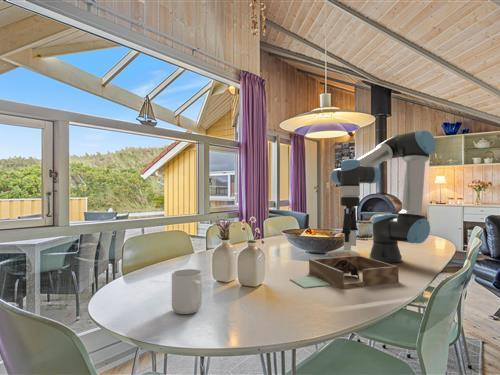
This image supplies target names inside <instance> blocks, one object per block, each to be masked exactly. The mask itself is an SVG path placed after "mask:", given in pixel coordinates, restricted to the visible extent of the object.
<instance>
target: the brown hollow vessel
mask: <svg viewBox="0 0 500 375" xmlns="http://www.w3.org/2000/svg"><path fill="white" fill-rule="evenodd" d="M339 265H341V268H337V267H338V266H339ZM334 268H335V269H337V270H340V271H343V272H344V274H349V273H350V275H351V276H355V277H356V276H357V279H360V274H359V269H357V268H356V266H355V265H354V264H353V263H352V262H350V261H349V260H348V259H343V260H340V261H338V262H337V263H335V265H334Z"/></svg>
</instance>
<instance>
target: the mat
mask: <svg viewBox="0 0 500 375" xmlns="http://www.w3.org/2000/svg"><path fill="white" fill-rule="evenodd" d="M289 280H290V281H291V282H293V283H295V284H297V285H298V286H300V287H302V288H303V289H309V288H317V287H326V286H327V287H329V286H331V283H329V282H327V281H325V280H323V279H320V278H318V277H316V276H314V275H312V276H306V277H295V278H294V277H293V278H290V279H289Z"/></svg>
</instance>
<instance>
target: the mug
mask: <svg viewBox="0 0 500 375" xmlns="http://www.w3.org/2000/svg"><path fill="white" fill-rule="evenodd" d="M202 279H203V278H202V271H201V270H199V269H195V268H194V269H193V268H185V269H177V270H175V271H173V272H171V309H172V310H173V312H175V313H177V314H180V315H188V314H193V313H195V312H198V311H199V309H200V308H202V304H203V302H202V301H203V300H202V299H203V298H202V297H203V296H202V294H203V282H202Z"/></svg>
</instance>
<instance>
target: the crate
mask: <svg viewBox="0 0 500 375" xmlns="http://www.w3.org/2000/svg"><path fill="white" fill-rule="evenodd" d="M343 259H348V260H349V261H350V262H352V263H353V264H354V265H355V266H356V268H357V270H361V271H362V280H361V281H353V282H345V278H344V276H345V273H344V272H343V271H340V270H337V269H335V268H334V265H335V263H337V262H338V261H340V260H343ZM337 268H341V265H339V266H338V267H337ZM308 273H309V274H310V275H312V276H314V277H316V278H319V279H321V280H323V281H325V282H327V283H329V284H330V285H333V286H335V287H337V288H339V289H340V290H341V289H349V288H358V287H366V286H367V287H368V286H375V285H383V284H384V285H385V284H392V283H399V282H400V281H399V278H400V277H399V265H398V266H397V265H394V264H392V263H391V264H390V263H388V262H381V261H377V260H374V259H370V257H366V256H362V255H347V256H346V255H344V256H334V257H333V256H332V257H323V258H322V257H320V258H319V257H318V258H310V259H309V258H308Z"/></svg>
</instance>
